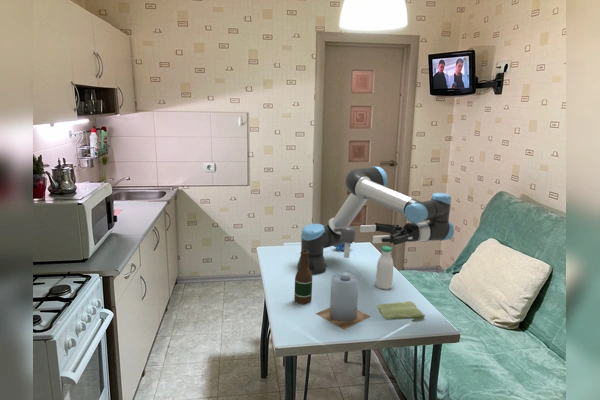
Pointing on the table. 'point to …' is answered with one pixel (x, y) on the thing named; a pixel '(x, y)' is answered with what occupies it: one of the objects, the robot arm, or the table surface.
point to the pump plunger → (346, 237)
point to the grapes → (340, 246)
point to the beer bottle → (303, 281)
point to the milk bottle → (385, 269)
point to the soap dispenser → (344, 297)
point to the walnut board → (343, 325)
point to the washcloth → (400, 311)
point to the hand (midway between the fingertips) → (366, 234)
